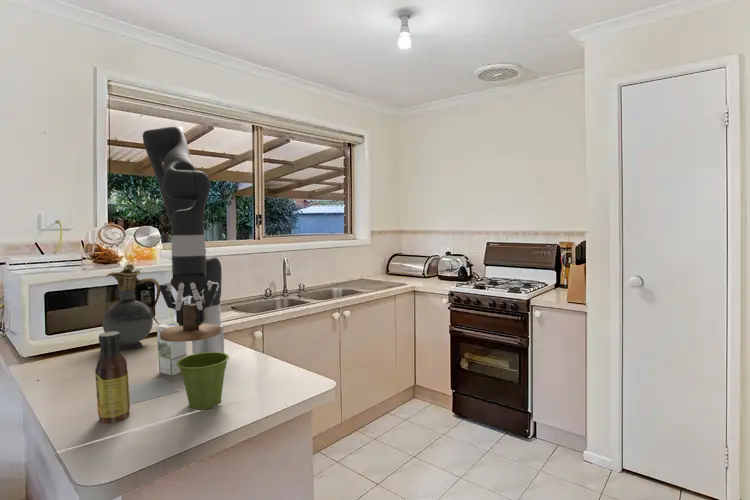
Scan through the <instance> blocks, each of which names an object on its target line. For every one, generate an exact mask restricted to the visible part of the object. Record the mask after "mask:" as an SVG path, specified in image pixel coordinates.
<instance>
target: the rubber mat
mask: <svg viewBox="0 0 750 500" xmlns="http://www.w3.org/2000/svg"><path fill="white" fill-rule="evenodd" d="M176 393H180V389H178V388H176V387H175V386H174V385H173V384H172V383H170V382H169V381H168V380H166V378H164V377H160V378H156V379H151V380H148V381H143V382H139V383H134V384H131V385H130V384H129V397H130V405H134V404H137V403H141V402H145V401H148V400H152V399H157V398H160V397H163V396H169V395H173V394H176Z"/></svg>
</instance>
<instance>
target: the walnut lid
mask: <svg viewBox="0 0 750 500" xmlns="http://www.w3.org/2000/svg"><path fill="white" fill-rule="evenodd" d="M197 310H198V308H197V304H191V303H187V304H186V303H185V304H184V305H182V316H183V326H175V327H170V328H167V329H164V330H162V331H161V332H160V339H161V340H164V341H171V342H184V341H186V342H192V341H195V340H202V339H207V338H211V337H214V336H217V335H219V334H220V333H221V327H220V326H219V325H216V324H202V325H197Z"/></svg>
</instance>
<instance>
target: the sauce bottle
mask: <svg viewBox="0 0 750 500" xmlns="http://www.w3.org/2000/svg"><path fill="white" fill-rule="evenodd" d="M119 339H120V332H117V331H112V332H106V333H105V332H103V333H99V335H98V342H99V345H100V346H99V348H100V350H99V354H100V355H99V358H98V360H97V364H96V367H95V370H94V371H95V374H94V375H95V376H94V377H95V387H96V400H97V401H96V402H97V403H96V404H97V415H98V418H99V419H98V420H99V422H100V423H103V424H113V423H117V422H121V421H124V420H126V419H127V418H128V417H130V413H131V411H130V409H131V404H130V397H129V386H130V384H129V371H128V363H127V359H126V358H125V356H124V355H123V354H122V353H121V350H120V343H119Z"/></svg>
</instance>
